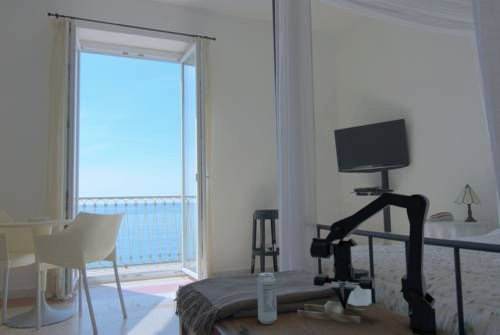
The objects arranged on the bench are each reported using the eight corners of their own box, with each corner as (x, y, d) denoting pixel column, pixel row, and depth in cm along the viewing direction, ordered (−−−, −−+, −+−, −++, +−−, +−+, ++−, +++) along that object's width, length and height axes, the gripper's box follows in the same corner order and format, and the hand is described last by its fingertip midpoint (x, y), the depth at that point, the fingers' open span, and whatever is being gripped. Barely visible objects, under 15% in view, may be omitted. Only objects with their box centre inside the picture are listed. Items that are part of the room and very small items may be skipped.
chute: (364, 316, 126) (364, 309, 126) (360, 325, 118) (359, 317, 118) (305, 310, 134) (305, 303, 135) (297, 318, 126) (297, 310, 126)
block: (343, 314, 127) (343, 302, 127) (340, 319, 122) (340, 306, 123) (328, 313, 129) (328, 300, 129) (325, 317, 124) (324, 304, 125)
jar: (369, 301, 145) (367, 268, 146) (374, 307, 136) (372, 272, 137) (344, 301, 145) (343, 268, 146) (348, 307, 137) (347, 273, 138)
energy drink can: (272, 317, 127) (271, 271, 129) (280, 323, 122) (278, 274, 123) (255, 320, 125) (254, 273, 127) (262, 325, 120) (261, 276, 121)
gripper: (375, 257, 129) (377, 304, 128) (320, 255, 137) (322, 299, 136) (370, 262, 119) (373, 314, 118) (312, 259, 127) (314, 308, 126)
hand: (344, 308), depth 124 cm, fingers closed
